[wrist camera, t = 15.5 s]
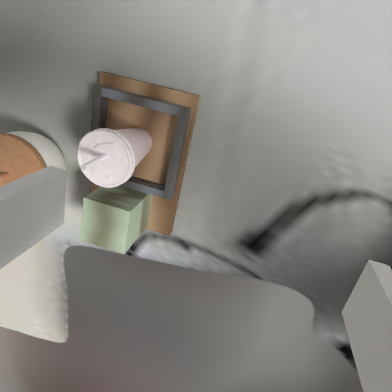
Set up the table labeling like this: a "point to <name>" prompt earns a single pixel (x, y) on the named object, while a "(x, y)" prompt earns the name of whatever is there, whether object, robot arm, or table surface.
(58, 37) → the table surface
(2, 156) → the lidded jar
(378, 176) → the table surface
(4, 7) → the table surface
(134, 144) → the smoothie
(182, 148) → the board
